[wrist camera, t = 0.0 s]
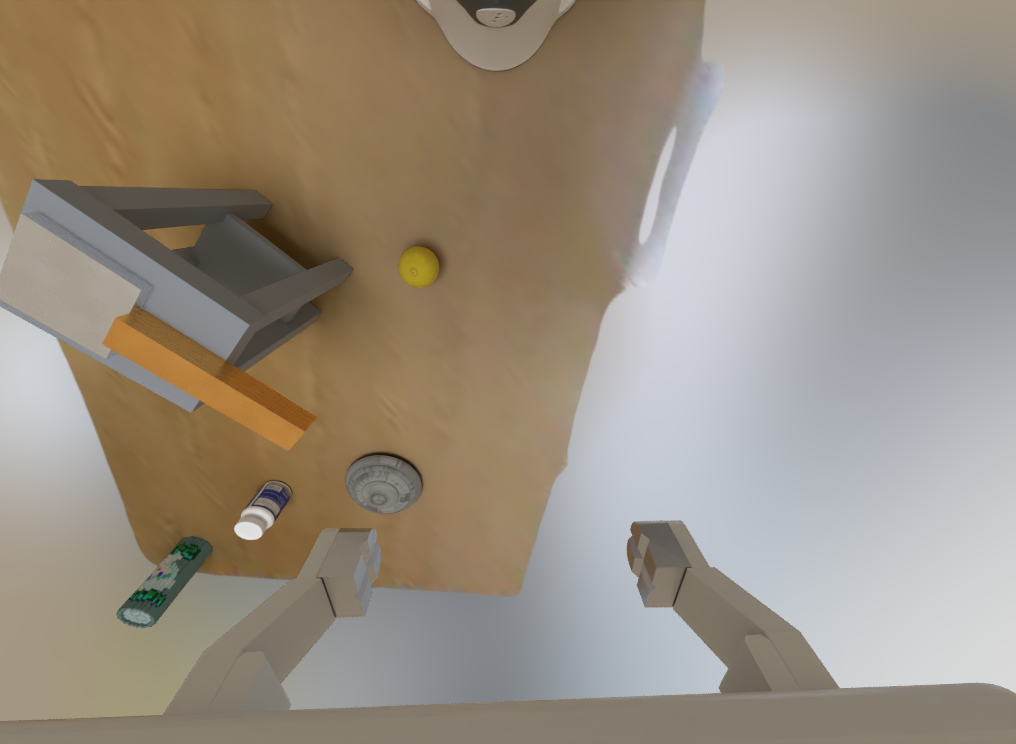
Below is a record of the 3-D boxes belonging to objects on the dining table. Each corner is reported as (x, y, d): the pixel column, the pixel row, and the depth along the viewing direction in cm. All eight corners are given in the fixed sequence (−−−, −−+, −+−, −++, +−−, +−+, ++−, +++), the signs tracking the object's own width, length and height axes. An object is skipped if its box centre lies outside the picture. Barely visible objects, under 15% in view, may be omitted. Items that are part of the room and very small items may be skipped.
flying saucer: (437, 472, 72) (432, 492, 67) (400, 516, 77) (394, 538, 72) (369, 438, 68) (359, 456, 63) (335, 486, 73) (324, 507, 68)
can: (201, 534, 77) (140, 605, 64) (217, 552, 80) (161, 624, 67) (176, 539, 78) (109, 611, 64) (192, 557, 80) (131, 629, 67)
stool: (215, 254, 52) (-10, 301, 29) (254, 187, 49) (32, 179, 25) (314, 324, 57) (191, 412, 34) (355, 269, 54) (249, 325, 30)
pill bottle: (275, 503, 74) (245, 545, 65) (257, 485, 72) (223, 526, 63) (298, 495, 73) (271, 536, 64) (280, 475, 71) (249, 516, 62)
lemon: (399, 249, 53) (384, 258, 46) (434, 238, 52) (424, 244, 45) (414, 285, 55) (402, 299, 48) (448, 274, 55) (441, 286, 47)
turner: (11, 291, 29) (-28, 299, 26) (40, 212, 26) (0, 214, 24) (288, 450, 36) (275, 466, 34) (330, 400, 34) (319, 414, 32)
